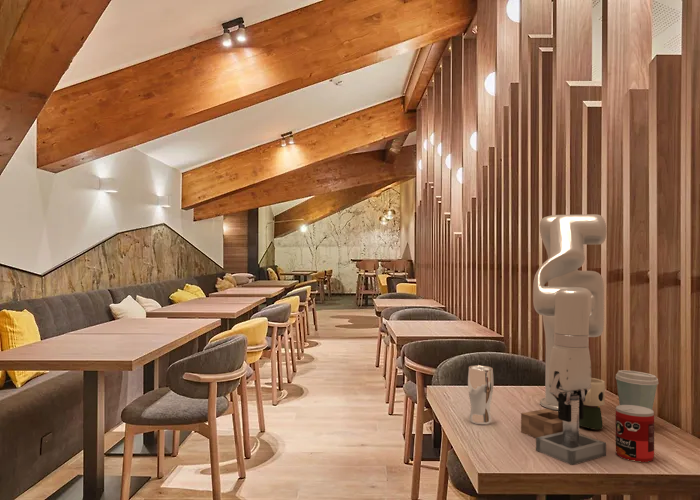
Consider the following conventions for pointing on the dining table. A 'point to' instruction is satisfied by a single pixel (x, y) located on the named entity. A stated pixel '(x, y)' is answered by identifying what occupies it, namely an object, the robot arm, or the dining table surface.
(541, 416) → the block
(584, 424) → the character mug
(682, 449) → the dining table surface
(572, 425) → the pin
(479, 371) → the beer glass
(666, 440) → the dining table surface
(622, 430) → the canned food
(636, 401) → the disposable coffee cup
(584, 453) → the tray
